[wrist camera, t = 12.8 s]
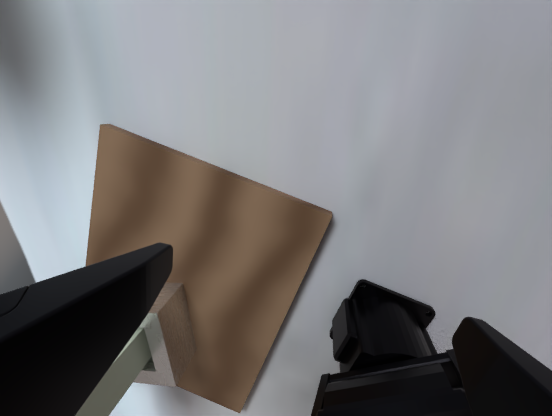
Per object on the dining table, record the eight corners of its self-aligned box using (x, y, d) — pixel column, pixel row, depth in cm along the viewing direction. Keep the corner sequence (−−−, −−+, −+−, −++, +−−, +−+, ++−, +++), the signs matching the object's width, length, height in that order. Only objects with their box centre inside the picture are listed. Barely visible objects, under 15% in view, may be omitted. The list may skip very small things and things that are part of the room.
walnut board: (331, 212, 21) (332, 216, 20) (242, 403, 30) (239, 413, 29) (109, 124, 22) (100, 124, 21) (85, 335, 31) (77, 342, 30)
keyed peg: (164, 303, 26) (47, 439, 15) (171, 329, 27) (65, 475, 16) (114, 300, 27) (-29, 427, 16) (122, 325, 28) (-9, 461, 17)
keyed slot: (182, 283, 25) (157, 313, 21) (196, 349, 27) (175, 386, 23) (88, 279, 26) (49, 307, 23) (109, 341, 29) (76, 375, 25)
